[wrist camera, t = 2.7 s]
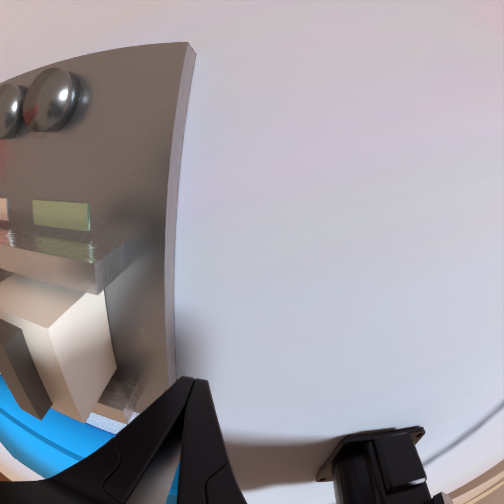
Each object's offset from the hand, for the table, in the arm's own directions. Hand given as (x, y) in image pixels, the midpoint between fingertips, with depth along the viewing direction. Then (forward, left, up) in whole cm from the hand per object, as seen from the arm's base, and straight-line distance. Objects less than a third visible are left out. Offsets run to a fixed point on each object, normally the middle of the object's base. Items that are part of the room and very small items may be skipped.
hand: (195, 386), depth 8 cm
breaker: (0, +6, -2) cm, 6 cm away
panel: (+3, +12, -3) cm, 12 cm away
